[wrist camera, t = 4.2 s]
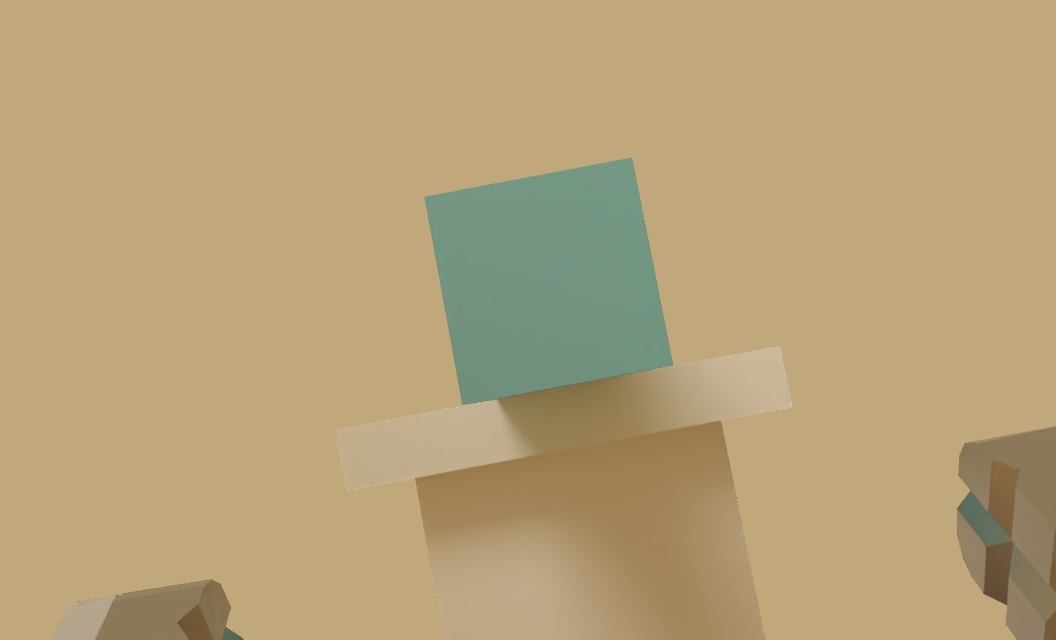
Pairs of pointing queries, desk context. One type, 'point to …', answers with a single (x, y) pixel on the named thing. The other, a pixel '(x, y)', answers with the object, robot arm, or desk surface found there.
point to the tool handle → (548, 281)
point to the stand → (584, 504)
